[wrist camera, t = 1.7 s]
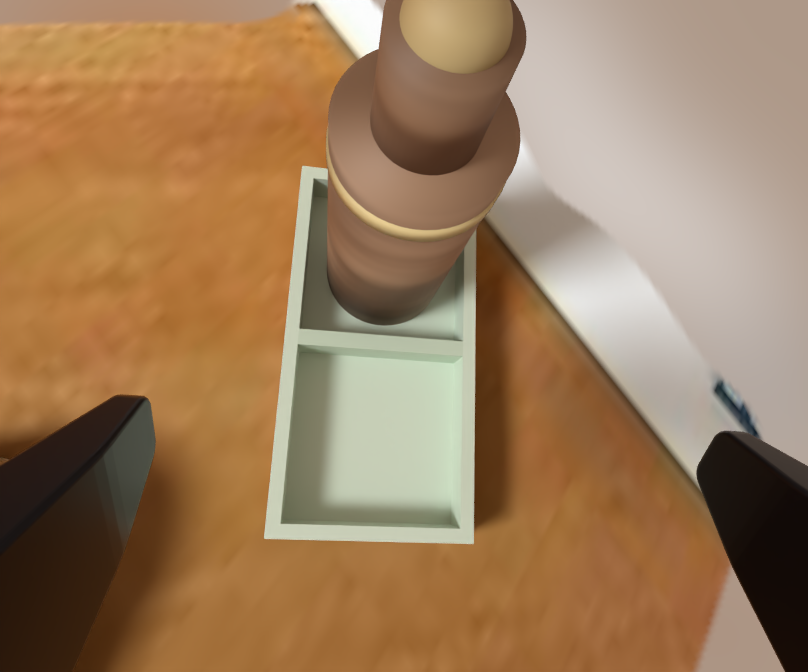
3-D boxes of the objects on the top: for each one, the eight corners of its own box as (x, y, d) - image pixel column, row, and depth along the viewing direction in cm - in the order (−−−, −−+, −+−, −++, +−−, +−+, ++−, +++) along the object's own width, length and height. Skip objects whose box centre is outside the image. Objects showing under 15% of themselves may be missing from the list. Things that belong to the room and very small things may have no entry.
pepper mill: (457, 301, 23) (651, 56, 9) (353, 344, 21) (400, 135, 8) (410, 205, 23) (525, -150, 10) (307, 241, 22) (281, -104, 9)
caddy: (459, 536, 21) (473, 543, 19) (269, 531, 20) (264, 538, 18) (464, 209, 24) (476, 186, 22) (303, 190, 23) (302, 165, 21)
